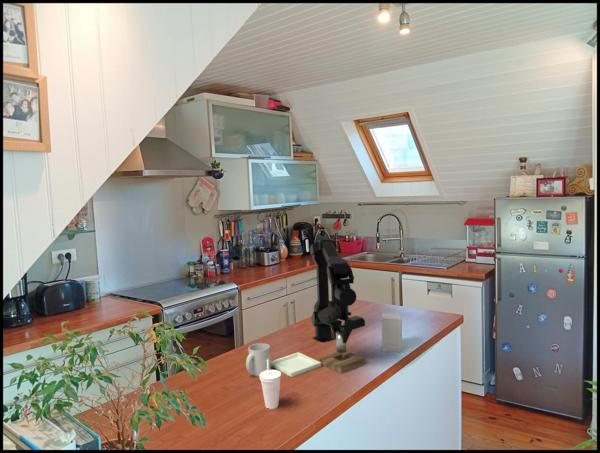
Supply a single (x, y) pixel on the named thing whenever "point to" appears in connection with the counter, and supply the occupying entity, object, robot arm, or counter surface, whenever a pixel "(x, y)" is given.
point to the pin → (340, 342)
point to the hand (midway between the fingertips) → (341, 341)
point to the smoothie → (270, 386)
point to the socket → (342, 361)
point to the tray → (295, 364)
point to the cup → (258, 358)
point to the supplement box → (391, 333)
